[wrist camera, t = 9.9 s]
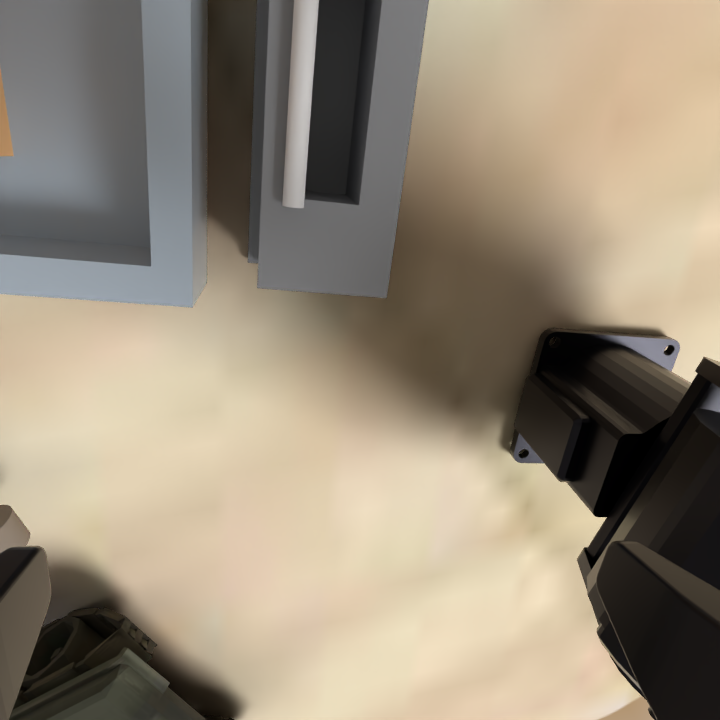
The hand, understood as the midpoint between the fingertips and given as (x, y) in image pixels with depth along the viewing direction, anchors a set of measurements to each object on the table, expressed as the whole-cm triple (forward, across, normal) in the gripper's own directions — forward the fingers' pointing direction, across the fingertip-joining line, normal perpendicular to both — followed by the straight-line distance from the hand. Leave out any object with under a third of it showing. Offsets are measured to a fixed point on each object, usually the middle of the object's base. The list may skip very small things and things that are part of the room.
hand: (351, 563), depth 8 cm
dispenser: (+13, 0, -8) cm, 15 cm away
